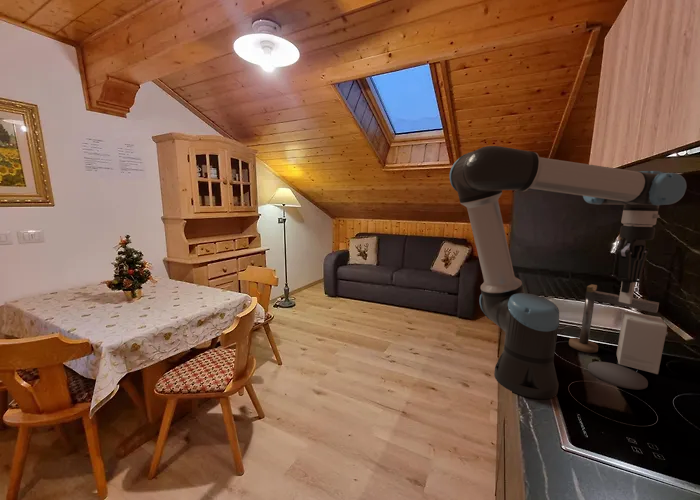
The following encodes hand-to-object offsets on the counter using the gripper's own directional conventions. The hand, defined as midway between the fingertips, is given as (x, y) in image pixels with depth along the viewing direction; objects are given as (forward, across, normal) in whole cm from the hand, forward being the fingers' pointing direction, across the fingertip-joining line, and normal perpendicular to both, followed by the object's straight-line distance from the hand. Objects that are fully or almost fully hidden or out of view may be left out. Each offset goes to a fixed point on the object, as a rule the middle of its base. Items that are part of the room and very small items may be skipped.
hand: (625, 302), depth 94 cm
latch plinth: (+19, 0, +9) cm, 21 cm away
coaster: (+19, -11, -5) cm, 22 cm away
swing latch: (+17, +2, +2) cm, 18 cm away
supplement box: (+19, +3, -4) cm, 20 cm away
